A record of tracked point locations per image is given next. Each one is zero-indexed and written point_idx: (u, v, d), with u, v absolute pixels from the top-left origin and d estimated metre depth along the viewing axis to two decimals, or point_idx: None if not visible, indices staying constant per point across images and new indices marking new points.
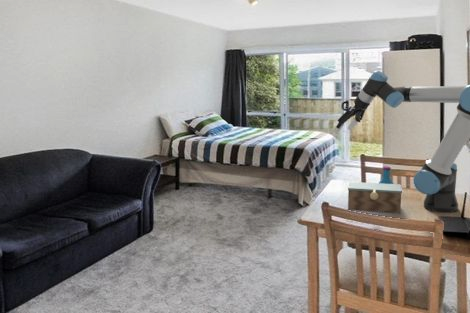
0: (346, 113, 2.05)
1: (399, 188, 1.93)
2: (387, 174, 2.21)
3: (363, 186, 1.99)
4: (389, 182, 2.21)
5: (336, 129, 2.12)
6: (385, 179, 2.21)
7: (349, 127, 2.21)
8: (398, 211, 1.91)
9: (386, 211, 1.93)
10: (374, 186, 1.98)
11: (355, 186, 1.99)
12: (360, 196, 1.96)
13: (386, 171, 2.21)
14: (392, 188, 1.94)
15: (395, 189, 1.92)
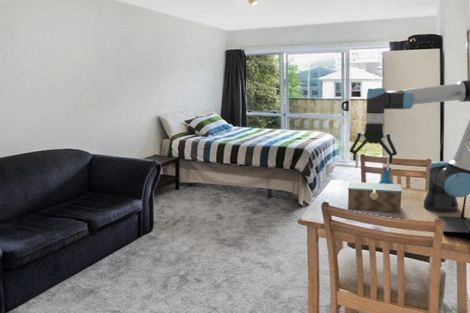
0: (391, 142, 1.78)
1: (399, 188, 1.93)
2: (387, 174, 2.21)
3: (363, 186, 1.99)
4: (389, 182, 2.21)
5: (388, 165, 1.81)
6: (385, 179, 2.21)
7: (357, 165, 1.86)
8: (398, 211, 1.91)
9: (386, 211, 1.93)
10: (374, 186, 1.98)
11: (355, 186, 1.99)
12: (360, 196, 1.96)
13: (386, 171, 2.21)
14: (392, 188, 1.94)
15: (395, 189, 1.92)
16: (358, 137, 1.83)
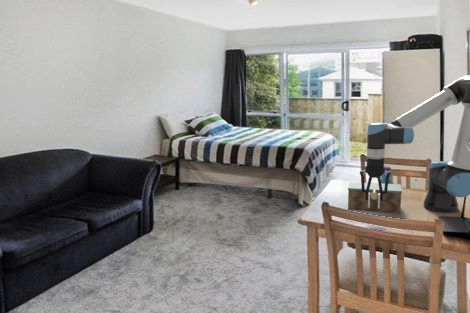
0: None
1: (399, 188, 1.93)
2: None
3: None
4: (389, 182, 2.21)
5: (379, 203, 1.84)
6: None
7: (369, 204, 1.86)
8: (398, 211, 1.91)
9: (386, 211, 1.93)
10: (374, 186, 1.98)
11: (355, 186, 1.99)
12: (360, 196, 1.96)
13: None
14: (392, 188, 1.94)
15: (395, 189, 1.92)
16: (362, 175, 1.84)
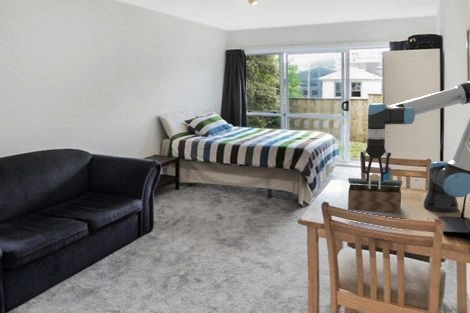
0: (388, 161, 1.82)
1: None
2: (387, 174, 2.21)
3: None
4: None
5: None
6: (385, 179, 2.21)
7: (370, 185, 1.86)
8: (398, 211, 1.91)
9: (386, 211, 1.93)
10: None
11: None
12: (360, 196, 1.96)
13: None
14: None
15: None
16: (362, 156, 1.84)
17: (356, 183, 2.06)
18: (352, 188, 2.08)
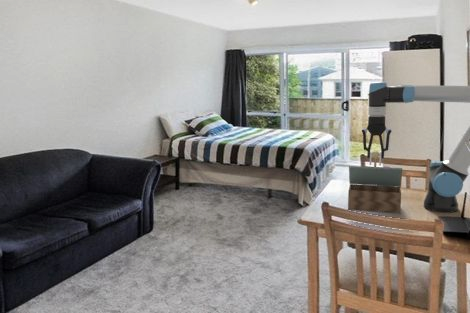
0: None
1: None
2: None
3: None
4: None
5: None
6: None
7: None
8: (398, 211, 1.91)
9: (386, 211, 1.93)
10: None
11: None
12: (360, 196, 1.96)
13: None
14: None
15: None
16: (364, 133, 1.90)
17: (356, 181, 2.06)
18: (352, 188, 2.08)
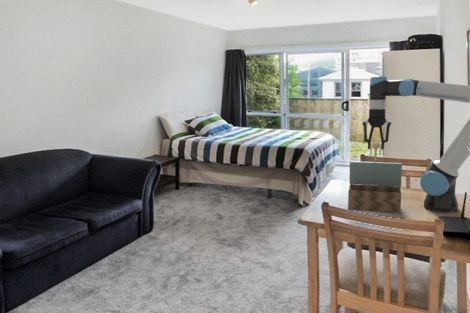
0: None
1: None
2: None
3: None
4: None
5: None
6: None
7: (371, 153, 2.00)
8: (398, 211, 1.91)
9: (386, 211, 1.93)
10: None
11: None
12: (360, 196, 1.96)
13: None
14: None
15: None
16: (364, 125, 1.97)
17: (356, 180, 2.07)
18: (352, 188, 2.08)
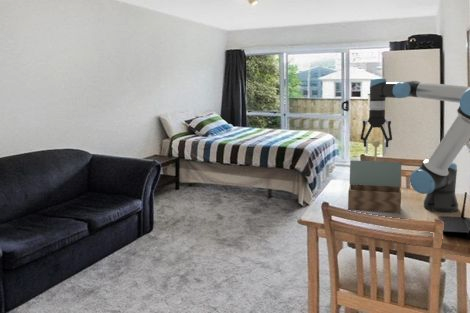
0: (390, 128, 2.03)
1: None
2: None
3: None
4: None
5: (385, 149, 2.06)
6: None
7: (367, 151, 2.09)
8: (398, 211, 1.91)
9: (386, 211, 1.93)
10: None
11: None
12: (360, 196, 1.96)
13: None
14: None
15: None
16: (364, 124, 2.06)
17: (356, 180, 2.08)
18: (352, 188, 2.08)
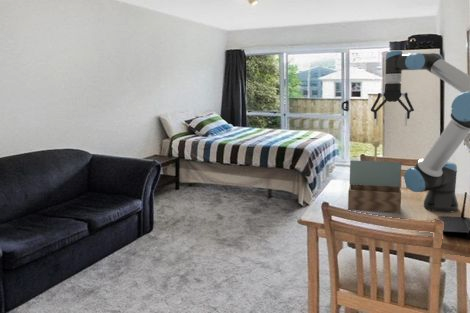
0: None
1: None
2: None
3: None
4: None
5: (406, 121, 2.01)
6: None
7: (377, 123, 2.05)
8: (398, 211, 1.91)
9: (386, 211, 1.93)
10: None
11: None
12: (360, 196, 1.96)
13: None
14: None
15: None
16: (378, 97, 2.02)
17: (356, 180, 2.08)
18: (352, 188, 2.08)
